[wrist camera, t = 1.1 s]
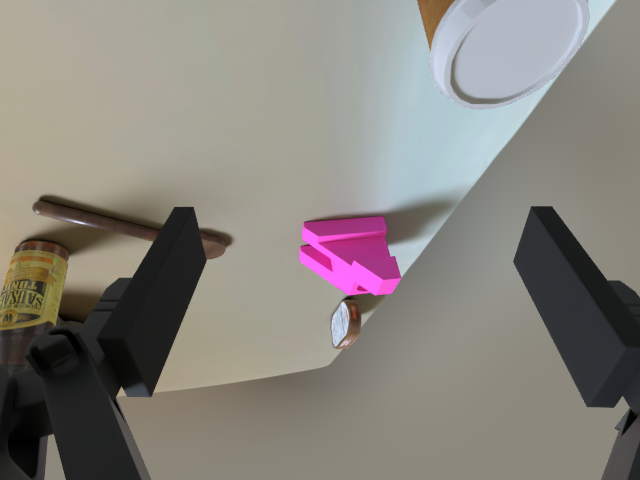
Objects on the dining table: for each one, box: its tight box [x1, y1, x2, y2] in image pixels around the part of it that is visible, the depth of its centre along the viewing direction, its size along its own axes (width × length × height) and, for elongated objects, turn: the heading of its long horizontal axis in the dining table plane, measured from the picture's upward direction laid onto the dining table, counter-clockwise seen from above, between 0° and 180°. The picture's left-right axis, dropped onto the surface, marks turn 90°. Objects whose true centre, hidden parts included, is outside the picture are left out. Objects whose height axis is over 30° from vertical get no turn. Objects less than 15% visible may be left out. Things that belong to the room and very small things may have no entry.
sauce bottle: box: [0, 240, 69, 373], centre depth 50 cm, size 7×6×20 cm
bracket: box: [299, 216, 401, 295], centre depth 63 cm, size 12×10×10 cm
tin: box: [331, 299, 361, 349], centre depth 89 cm, size 15×3×8 cm, turn 167°
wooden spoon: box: [32, 201, 225, 259], centre depth 54 cm, size 24×5×2 cm, turn 48°
